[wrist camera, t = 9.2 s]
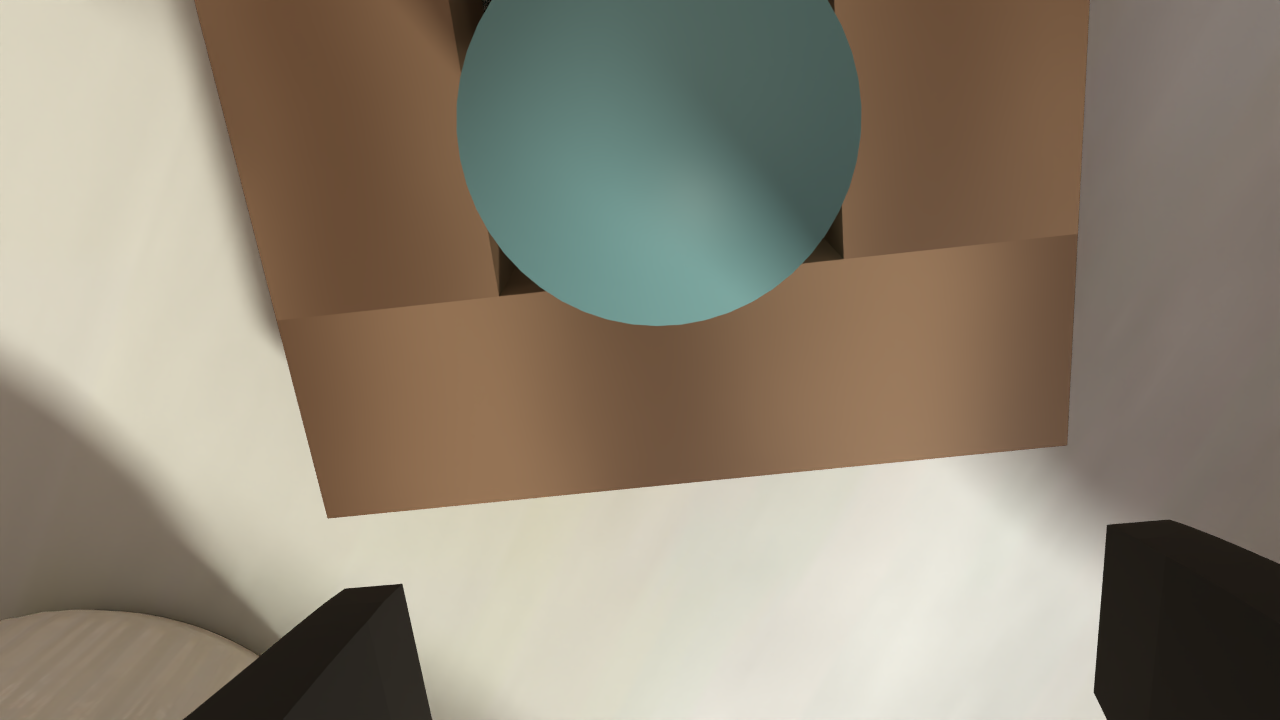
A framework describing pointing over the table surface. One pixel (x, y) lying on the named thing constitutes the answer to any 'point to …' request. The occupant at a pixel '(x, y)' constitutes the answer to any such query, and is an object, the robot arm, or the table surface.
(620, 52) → the peg
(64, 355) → the table surface
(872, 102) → the socket
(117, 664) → the ramekin
